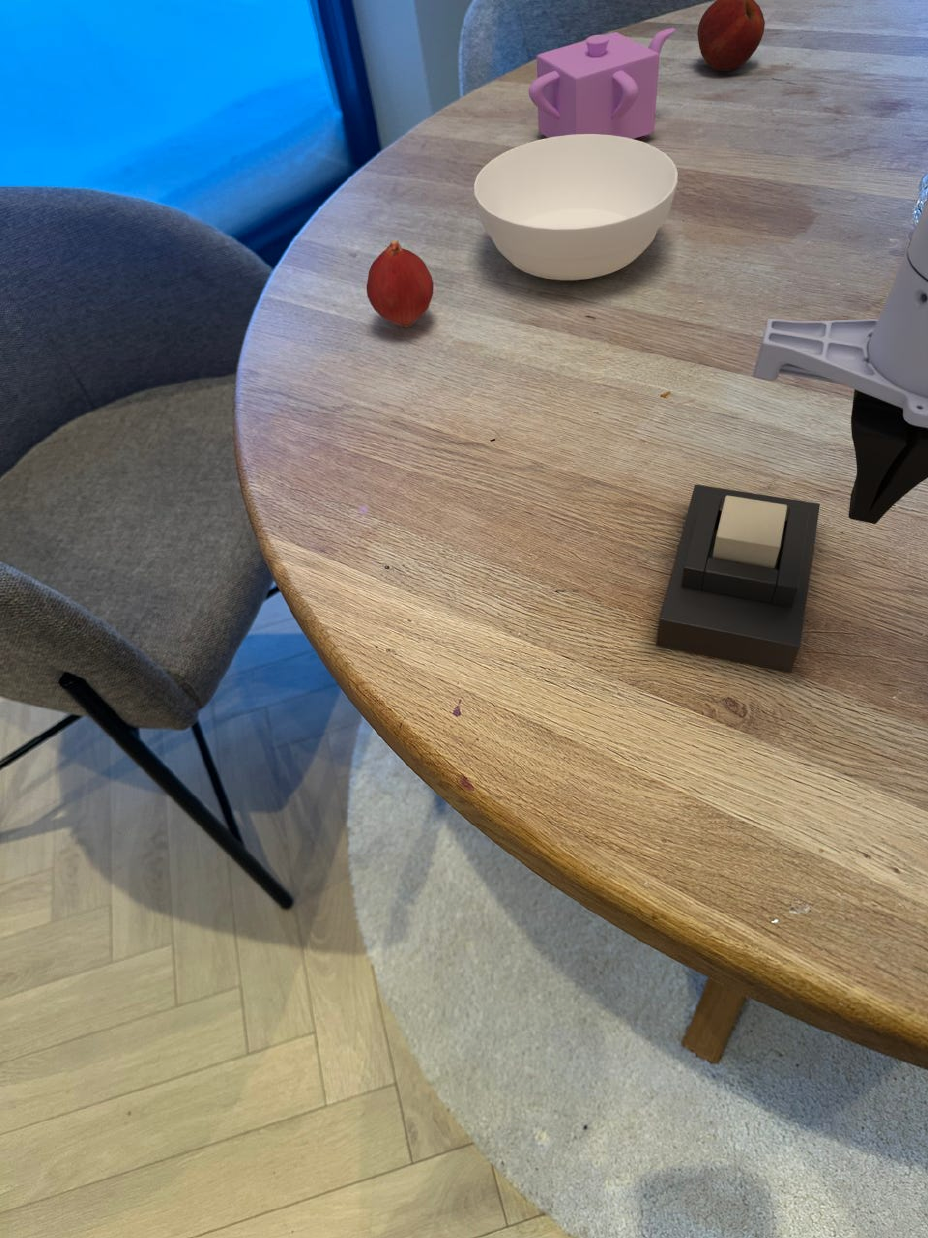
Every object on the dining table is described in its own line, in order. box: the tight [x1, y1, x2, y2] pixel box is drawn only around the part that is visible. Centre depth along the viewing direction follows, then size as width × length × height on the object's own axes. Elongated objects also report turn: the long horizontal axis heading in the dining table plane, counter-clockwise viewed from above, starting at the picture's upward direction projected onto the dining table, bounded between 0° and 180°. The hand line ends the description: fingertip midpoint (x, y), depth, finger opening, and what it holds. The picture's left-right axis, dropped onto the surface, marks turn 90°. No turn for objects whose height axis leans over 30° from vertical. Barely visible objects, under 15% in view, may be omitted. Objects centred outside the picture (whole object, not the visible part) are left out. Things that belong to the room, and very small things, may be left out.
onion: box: [366, 240, 435, 328], centre depth 74 cm, size 6×6×8 cm
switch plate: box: [655, 484, 821, 674], centre depth 53 cm, size 12×8×4 cm, turn 161°
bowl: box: [473, 134, 679, 281], centre depth 79 cm, size 18×18×7 cm
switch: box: [712, 496, 787, 569], centre depth 51 cm, size 4×4×2 cm
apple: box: [696, 0, 766, 72], centre depth 103 cm, size 7×8×8 cm
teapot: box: [527, 27, 676, 140], centre depth 93 cm, size 18×14×10 cm
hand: (863, 508), depth 44 cm, fingers closed
